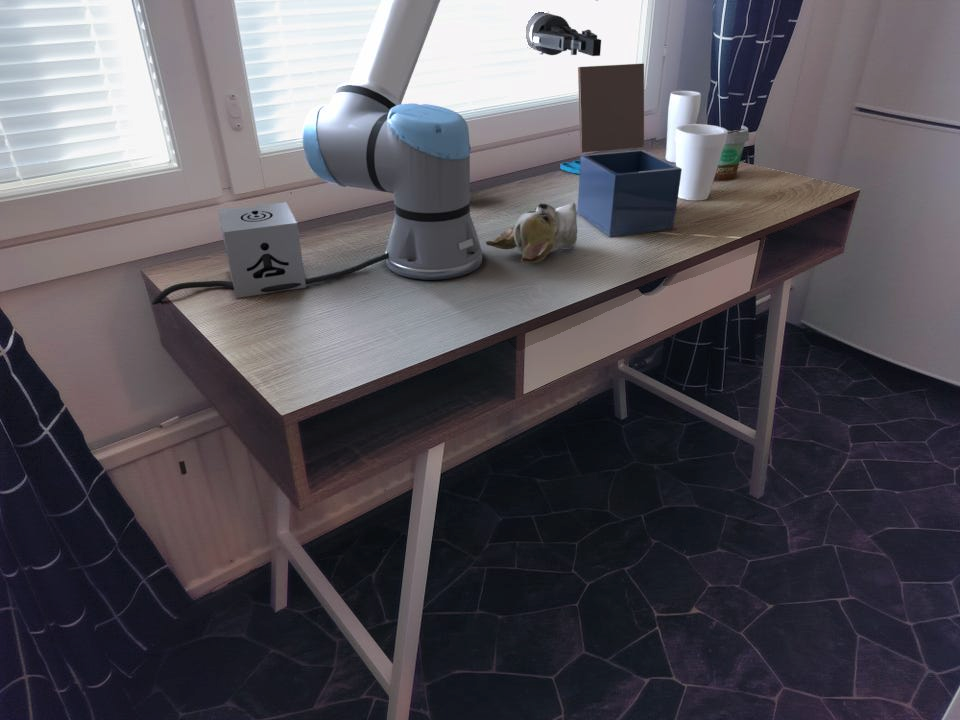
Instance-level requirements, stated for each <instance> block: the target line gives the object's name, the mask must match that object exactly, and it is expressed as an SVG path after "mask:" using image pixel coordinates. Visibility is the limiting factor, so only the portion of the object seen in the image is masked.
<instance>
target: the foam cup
mask: <svg viewBox="0 0 960 720" xmlns="http://www.w3.org/2000/svg"><path fill="white" fill-rule="evenodd" d="M727 130H728V129H726V128H725V127H722V126H718V125H713V124H705V123H696V124H686V125H681V126H679V127H678V128H677V130H676V137H675V141H676V163H675V166H677V167H679V168H681V169H682V171H681V178H680V186H679V193H678V199H681V200H686V201H695V202H696V201H697V202H698V201H704V200H707V199H709V195H710V193H711V190H712V186H713V183H714V181H715V180H714V177H715V173H716V170H717V167H718V164H719V160H720V157H721V154H722V150H723V147H724V145H725V144H726V139H727V133H728V131H727Z"/></svg>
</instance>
